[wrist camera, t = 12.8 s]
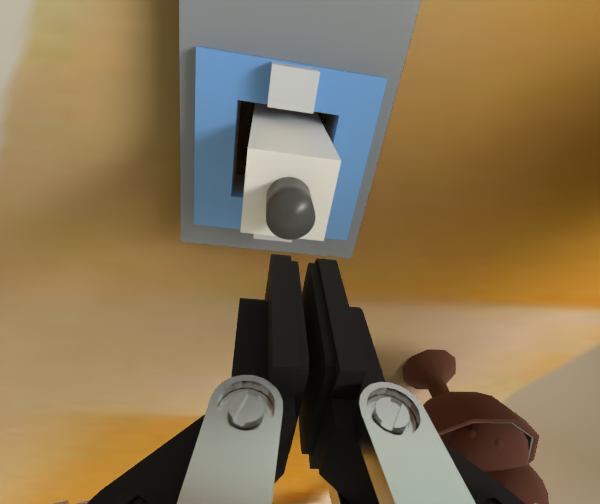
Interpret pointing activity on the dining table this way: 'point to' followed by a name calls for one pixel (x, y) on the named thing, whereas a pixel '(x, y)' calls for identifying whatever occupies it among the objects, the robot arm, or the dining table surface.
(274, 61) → the board
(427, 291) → the dining table surface
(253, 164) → the cord plug
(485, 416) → the ice cream bowl
